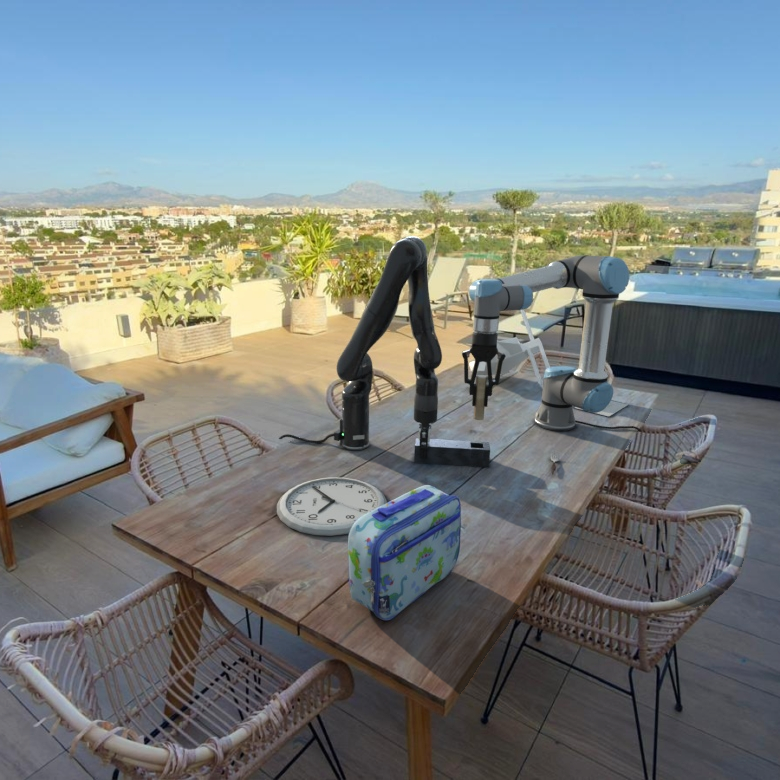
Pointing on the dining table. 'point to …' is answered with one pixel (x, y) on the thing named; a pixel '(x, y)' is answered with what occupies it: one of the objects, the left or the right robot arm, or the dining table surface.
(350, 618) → the dining table surface
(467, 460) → the peg board
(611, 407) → the invitation card
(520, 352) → the white plastic object
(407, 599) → the lunch box
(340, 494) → the wall clock
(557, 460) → the fork
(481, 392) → the peg
